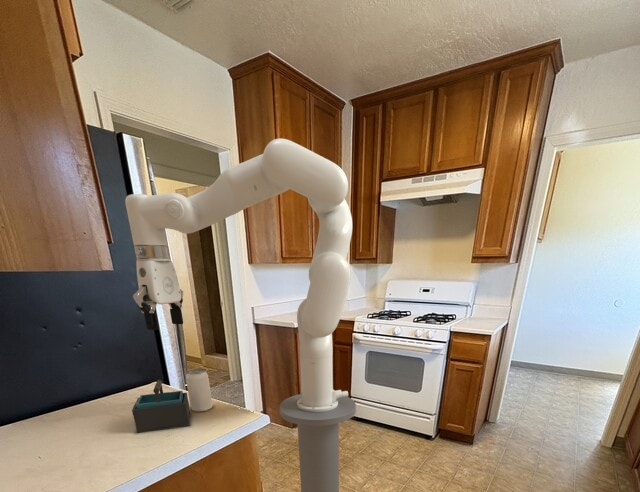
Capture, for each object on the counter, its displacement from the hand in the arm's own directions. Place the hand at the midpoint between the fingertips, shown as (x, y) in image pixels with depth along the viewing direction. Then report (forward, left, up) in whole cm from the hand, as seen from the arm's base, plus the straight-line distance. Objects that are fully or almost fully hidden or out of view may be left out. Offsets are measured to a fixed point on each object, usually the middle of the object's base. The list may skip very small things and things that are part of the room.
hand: (166, 326), depth 92 cm
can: (-5, -8, -27) cm, 28 cm away
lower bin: (+5, 0, -27) cm, 27 cm away
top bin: (+5, 0, -26) cm, 26 cm away
